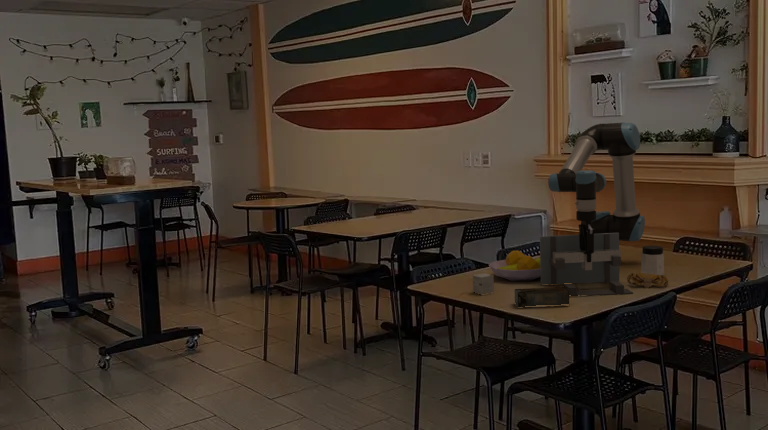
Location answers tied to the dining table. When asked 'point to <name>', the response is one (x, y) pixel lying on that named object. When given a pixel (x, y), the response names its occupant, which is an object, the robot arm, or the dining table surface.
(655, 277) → the crab model
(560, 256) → the rail
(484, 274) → the skincare box
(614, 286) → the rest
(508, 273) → the fruit bowl
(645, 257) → the jar
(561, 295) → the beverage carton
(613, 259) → the panel
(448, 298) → the dining table surface
